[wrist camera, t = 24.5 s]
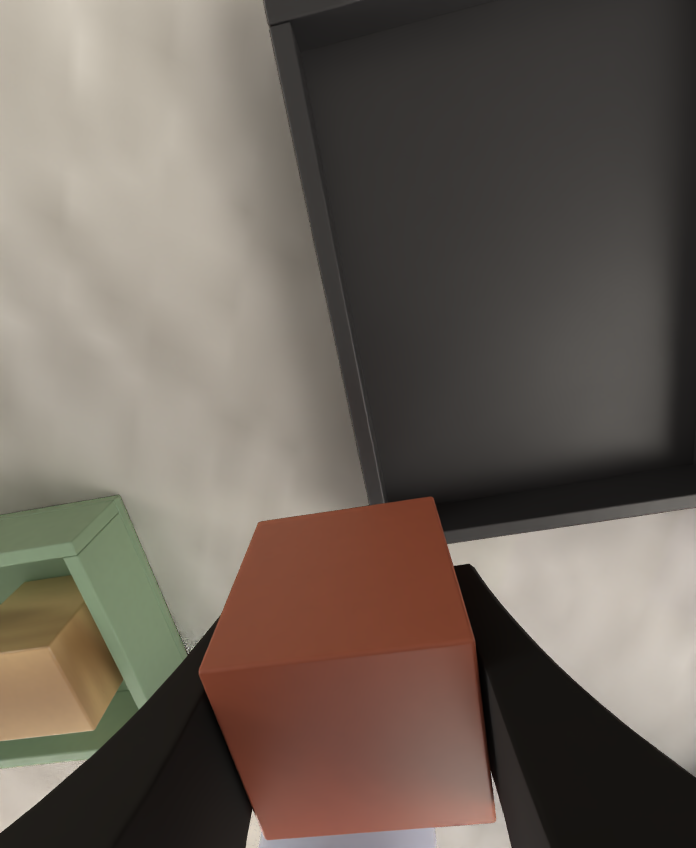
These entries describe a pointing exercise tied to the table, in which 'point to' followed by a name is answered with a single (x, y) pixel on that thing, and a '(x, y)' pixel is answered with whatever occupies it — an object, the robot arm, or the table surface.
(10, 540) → the bin
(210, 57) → the table surface
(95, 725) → the beech block
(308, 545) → the terracotta block
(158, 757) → the robot arm
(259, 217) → the table surface
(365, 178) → the pan
